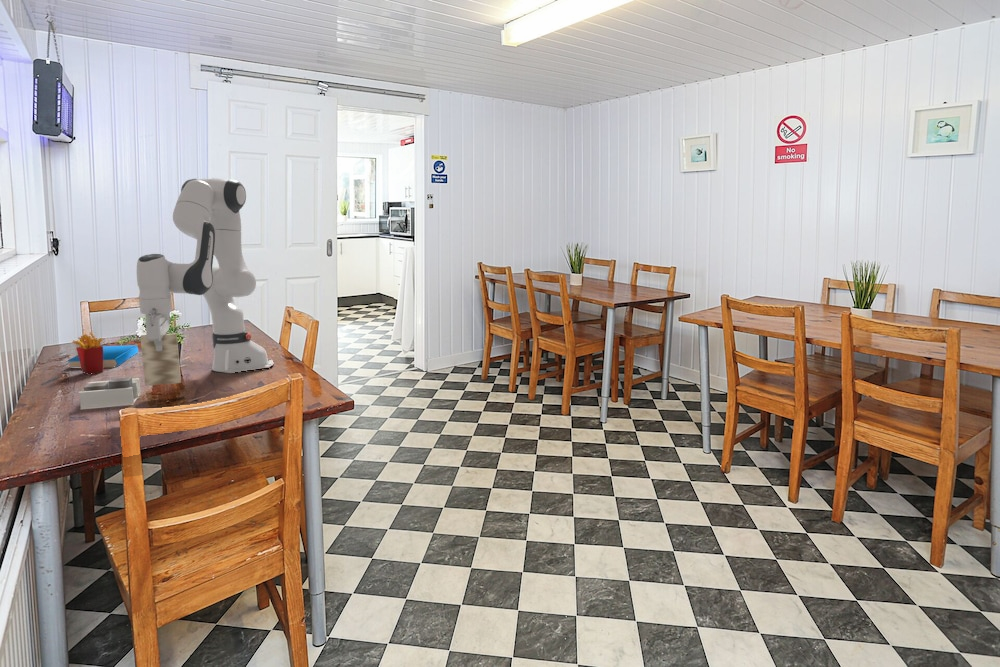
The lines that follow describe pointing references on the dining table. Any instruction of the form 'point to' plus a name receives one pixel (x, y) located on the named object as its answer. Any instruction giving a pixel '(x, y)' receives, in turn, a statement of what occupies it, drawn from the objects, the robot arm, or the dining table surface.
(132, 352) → the book
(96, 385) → the offcut short
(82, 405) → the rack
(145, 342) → the birch board
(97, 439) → the dining table surface
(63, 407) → the dining table surface
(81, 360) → the french fries
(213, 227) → the robot arm
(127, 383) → the offcut tall
